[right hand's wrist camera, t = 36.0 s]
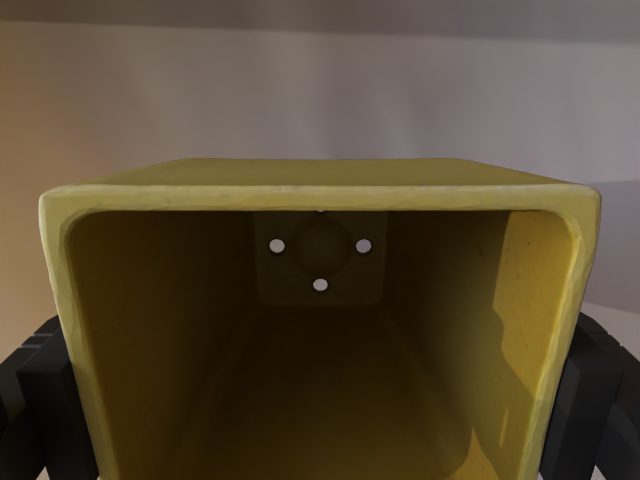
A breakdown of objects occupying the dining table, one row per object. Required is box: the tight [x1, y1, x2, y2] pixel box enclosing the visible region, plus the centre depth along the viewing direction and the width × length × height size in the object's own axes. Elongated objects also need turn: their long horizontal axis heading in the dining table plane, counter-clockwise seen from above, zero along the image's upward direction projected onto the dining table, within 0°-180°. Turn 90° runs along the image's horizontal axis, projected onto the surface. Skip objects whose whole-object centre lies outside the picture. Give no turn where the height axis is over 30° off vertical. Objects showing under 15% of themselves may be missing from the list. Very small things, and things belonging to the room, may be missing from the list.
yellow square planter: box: [39, 158, 601, 480], centre depth 12 cm, size 9×9×9 cm
